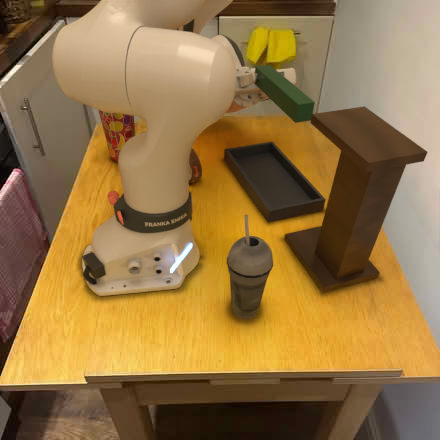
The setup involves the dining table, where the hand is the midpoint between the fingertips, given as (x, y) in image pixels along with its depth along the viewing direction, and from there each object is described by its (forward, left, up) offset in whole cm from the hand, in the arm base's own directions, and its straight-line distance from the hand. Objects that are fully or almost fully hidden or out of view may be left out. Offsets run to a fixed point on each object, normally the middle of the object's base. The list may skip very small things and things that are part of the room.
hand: (266, 75), depth 87 cm
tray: (0, -8, -22) cm, 23 cm away
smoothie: (-31, +15, -22) cm, 41 cm away
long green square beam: (0, -8, -2) cm, 8 cm away
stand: (0, -36, -22) cm, 42 cm away
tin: (-19, +3, -22) cm, 29 cm away
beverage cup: (-21, -43, -22) cm, 53 cm away
